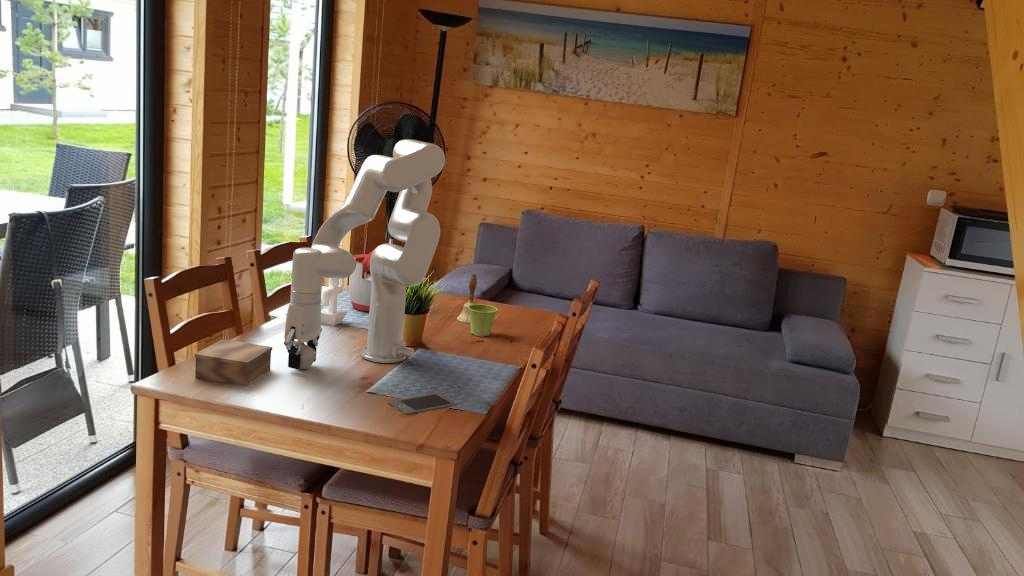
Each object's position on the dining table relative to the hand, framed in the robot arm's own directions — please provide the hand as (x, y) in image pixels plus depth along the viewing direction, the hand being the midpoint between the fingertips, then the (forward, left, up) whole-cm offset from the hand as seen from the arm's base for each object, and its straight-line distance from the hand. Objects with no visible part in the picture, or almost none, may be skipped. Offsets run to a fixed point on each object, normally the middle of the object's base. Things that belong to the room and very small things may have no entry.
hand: (302, 363), depth 210 cm
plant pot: (-26, -61, -2) cm, 66 cm away
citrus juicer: (+15, -64, -2) cm, 66 cm away
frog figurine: (0, 0, -1) cm, 1 cm away
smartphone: (-36, +4, -2) cm, 36 cm away
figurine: (+16, -41, -1) cm, 44 cm away
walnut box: (+11, +13, -1) cm, 17 cm away
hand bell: (-17, -74, -2) cm, 76 cm away
